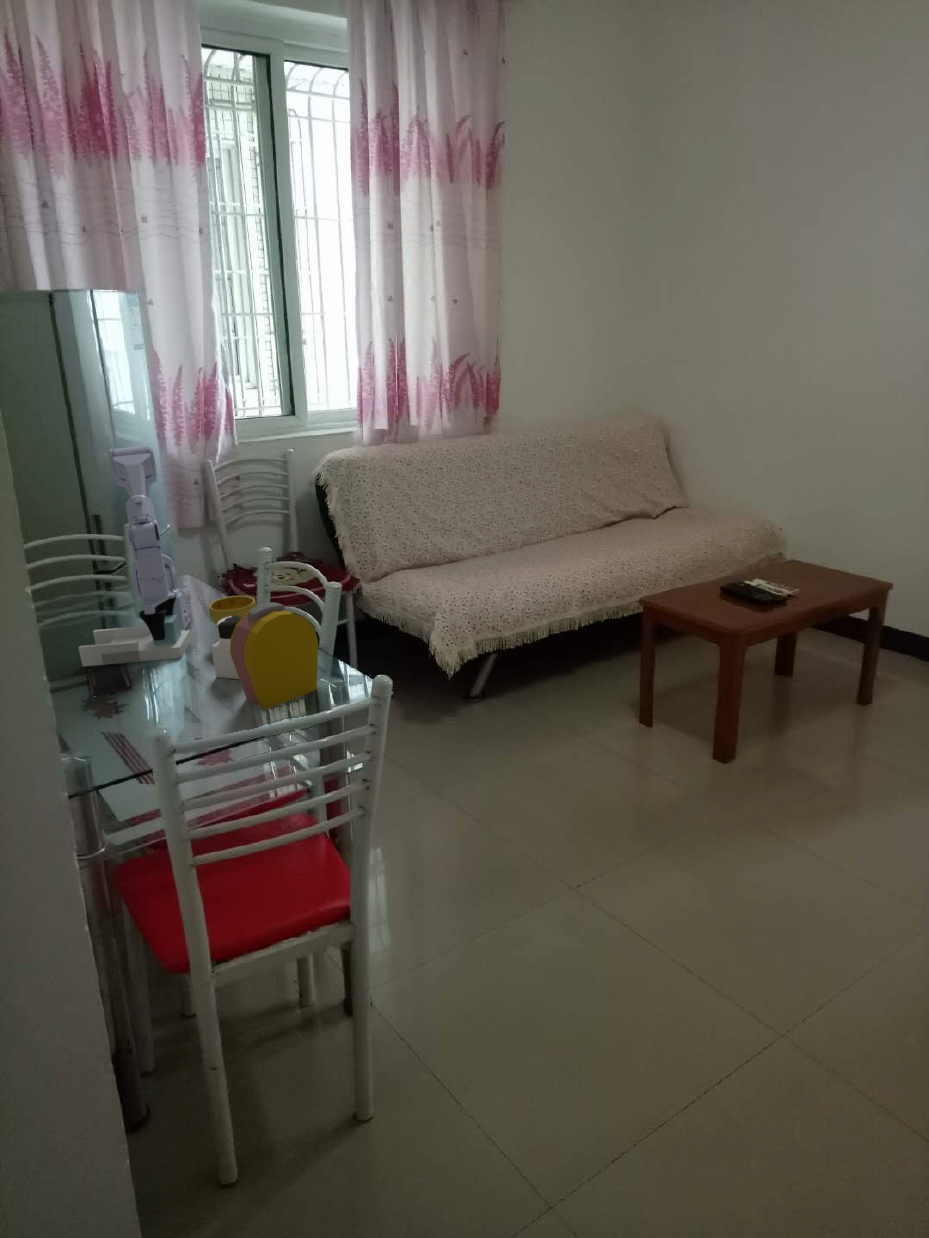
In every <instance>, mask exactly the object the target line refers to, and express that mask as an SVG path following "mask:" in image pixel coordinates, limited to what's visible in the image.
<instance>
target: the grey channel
mask: <svg viewBox="0 0 929 1238" xmlns="http://www.w3.org/2000/svg"><path fill="white" fill-rule="evenodd" d="M92 634H93V638H94V642H95V644H89V645H88V644H87V645H79V646H78V653H79V656H80V661H81V665H82V668H83V667H93V666H105V665H116V664H122V663H123V664H126V663H138V662H147V661H148V662H149V661H159V660H171V659H180V658H183V656H184V654H186V653H185V652H186V651H187V649H188V647H189V645H190V644H191V642H192V640H193V639H192V633H191V629H187V630H186V629H185V630H184V631H181V637H180V638H179V640H178V641H177V643H172V644H160V645H154V643H153V638H152V634H151V632H150V630H149V628H148V626H147V625H138V626H128V627H127V626H125V627H113V628H105V629H94V630H93V631H92Z"/></svg>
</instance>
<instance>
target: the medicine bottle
mask: <svg viewBox="0 0 929 1238" xmlns="http://www.w3.org/2000/svg"><path fill="white" fill-rule="evenodd" d="M242 618H243V617H240V616H230V617H226V618H223V619H221V620H219V621H218V623H217V627H216V630H217V634H218V636H217V637H218V641H217V642H215V643H214V644H212V645H211V646H210V649H211V655H212V661H213V667H214V672H215V677H216V678H222V679H230V680H232V679H233V680H240V679H239V676H238V673H237V671H236V668H235V665H234V663H233V660H232V657H231V655H230V639H231V636H232V634H233V631H234V629H235V626H236V624H237V623H238V622H239V621H240V620H241V619H242Z"/></svg>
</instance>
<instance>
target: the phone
mask: <svg viewBox="0 0 929 1238" xmlns="http://www.w3.org/2000/svg"><path fill="white" fill-rule="evenodd" d="M128 671H129V670H128V668H127V665H126V663H117V664H110V665H107V666H102V667H97V668H93V669H89V670H88V671H87V673H86V675H87V681H88V684H89V689H90V693H91V697H92V696H96V697H99V696H104V695H108V694H112V695H116V694H115V693H117V694H120V693H126V692H129V691H131V690H133V683H132V681H131V678H130V675H129V672H128ZM113 693H114V694H113ZM108 696H109V695H108ZM104 697H105V696H104ZM99 698H100V697H99Z"/></svg>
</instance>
